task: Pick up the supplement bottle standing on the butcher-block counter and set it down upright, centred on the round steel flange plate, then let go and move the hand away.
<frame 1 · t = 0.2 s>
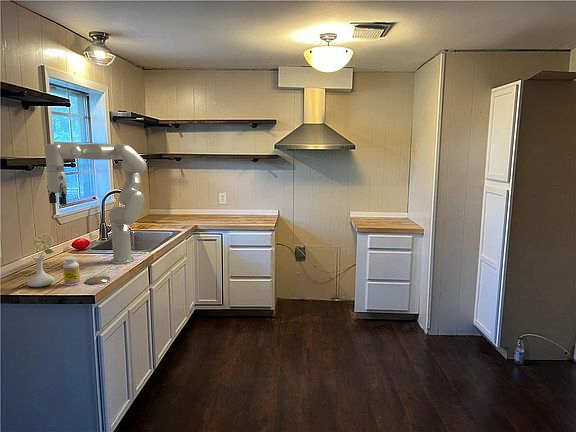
hand: (58, 203, 207), 37 cm above the counter, tool pointing down, fingers open, 9 cm apart
flange plate: (98, 281, 204), on the counter
supplement bottle: (72, 284, 199), on the counter
flower in vase: (43, 285, 198), on the counter
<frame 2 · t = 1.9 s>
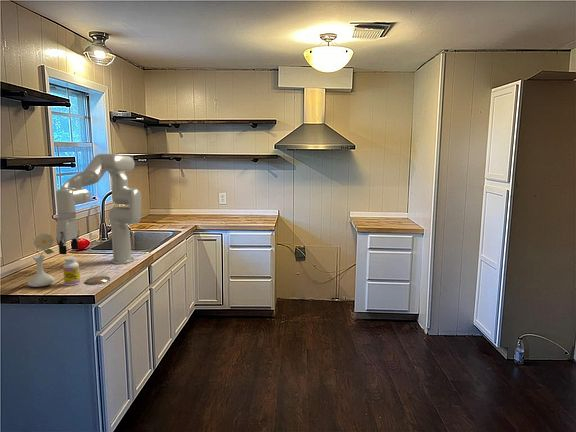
hand: (69, 251, 196), 16 cm above the counter, tool pointing down, fingers open, 9 cm apart
nothing on the counter moved.
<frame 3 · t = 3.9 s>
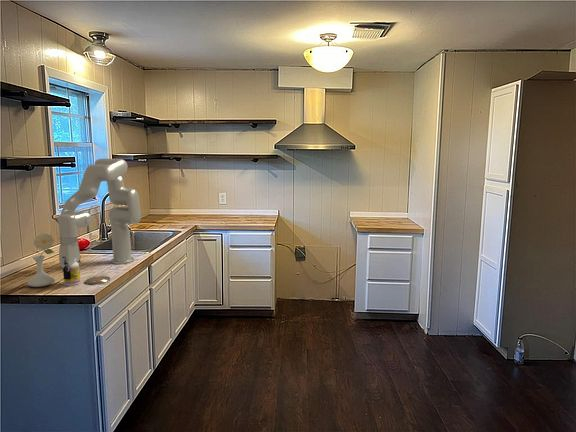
hand: (71, 276, 199), 4 cm above the counter, tool pointing down, fingers closed on supplement bottle, 6 cm apart
supplement bottle: (72, 284, 199), on the counter, touching gripper
everything else where it was.
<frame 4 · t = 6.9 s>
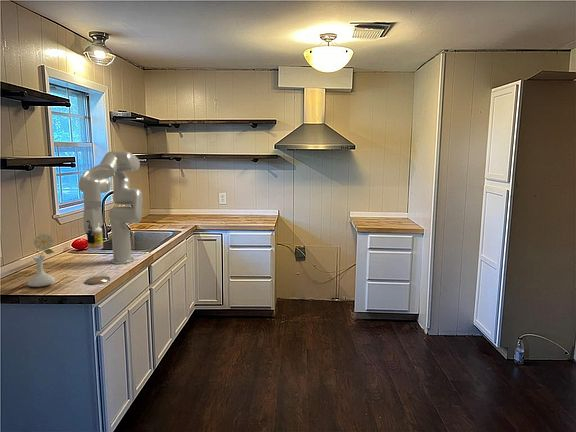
hand: (95, 241, 200), 20 cm above the counter, tool pointing down, fingers closed on supplement bottle, 6 cm apart
supplement bottle: (95, 249, 201), point 16 cm above the counter, touching gripper
everything else where it was.
when the fingers open (6 cm above the counter, at t = 10.2 s): supplement bottle stays where it is, resting on flange plate.
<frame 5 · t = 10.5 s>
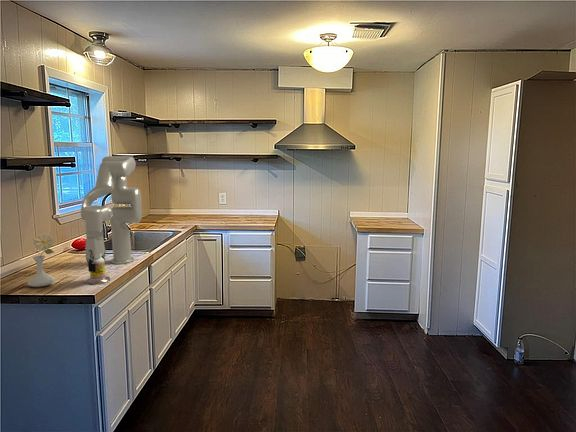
hand: (97, 268, 203), 6 cm above the counter, tool pointing down, fingers open, 9 cm apart
supplement bottle: (98, 279, 204), point 1 cm above the counter, touching flange plate
everything else where it was.
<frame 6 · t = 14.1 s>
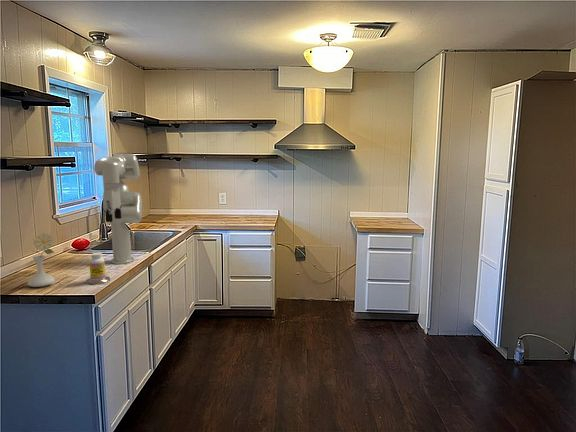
hand: (113, 220, 211), 28 cm above the counter, tool pointing down, fingers open, 9 cm apart
nothing on the counter moved.
at the end: supplement bottle 0.2 cm from the flange plate (horizontally); supplement bottle tilted 0°; the gripper is holding nothing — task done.
